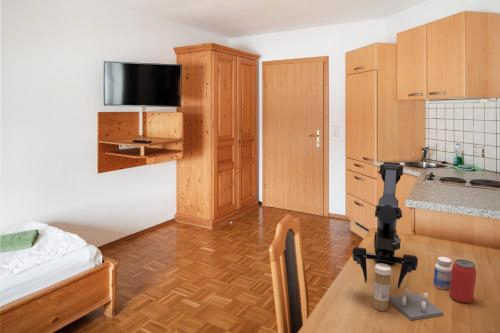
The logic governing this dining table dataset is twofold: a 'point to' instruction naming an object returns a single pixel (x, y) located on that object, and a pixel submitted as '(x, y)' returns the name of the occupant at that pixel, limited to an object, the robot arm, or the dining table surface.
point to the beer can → (462, 281)
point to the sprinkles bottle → (381, 286)
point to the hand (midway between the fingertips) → (381, 285)
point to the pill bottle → (443, 273)
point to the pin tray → (415, 305)
